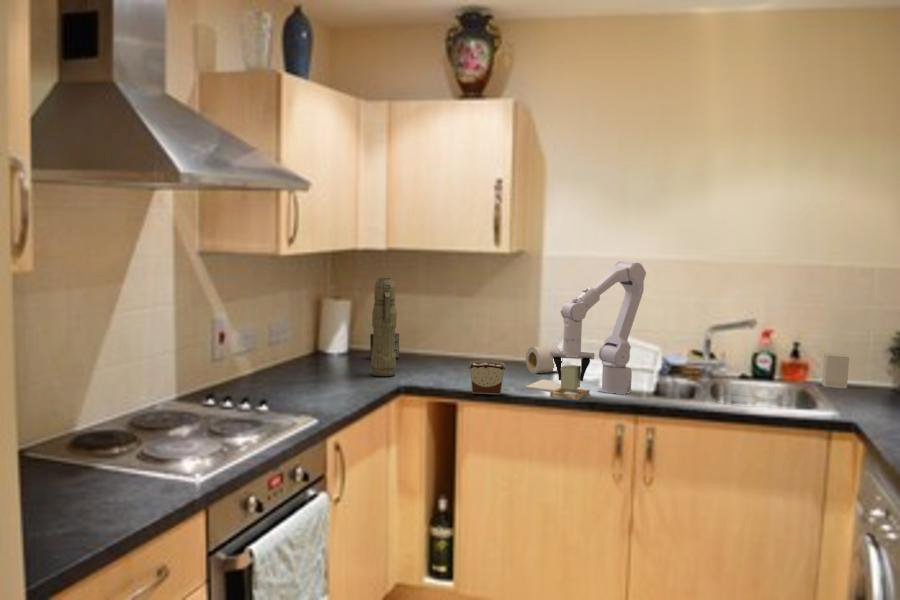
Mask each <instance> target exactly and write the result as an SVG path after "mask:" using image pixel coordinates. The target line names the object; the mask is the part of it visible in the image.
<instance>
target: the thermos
mask: <svg viewBox="0 0 900 600" xmlns="http://www.w3.org/2000/svg"><path fill="white" fill-rule="evenodd" d="M373 292H374V295H373V297H374V299H373V300H374V303H373V305H374V307H373V309H372V314H371V317H372V318H371V324H372V325H371V326H372V328H373V333H372V334H373V353H372V356H371V359H370V361H371V363H370V367H371V375H372V376H375V377H392V376H395V375H396V365H397V363H396V361H397V359H396V356H395V353H394V349H395V333H396V328H397V314H398V313H397V309H396V303H395V301H396V284H395V280H394V279H392V278H391V277H379V278H377V279H376V280H375V285H374V291H373Z"/></svg>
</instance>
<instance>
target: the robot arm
mask: <svg viewBox="0 0 900 600" xmlns="http://www.w3.org/2000/svg"><path fill="white" fill-rule="evenodd" d="M646 275H647V272H646V270H645V268H644V266H643V264H641V263H640V262H627V261H617V262H616V263H615V264H614V265H613V266H611V267H610V270H609V271H608V272H607V273H606V274H605V275H604V276H603V277H602V278H601V279H600V280H599V281H598V282H597V283H596V284H595V285H594V286H593V287H589V286H588V287H586V288H585V287H584V288H583V289H582V292H580V294H578V295H577V296H576V297H573V298H572V301H569V302H566V303H564V305H563V306H562V309H561V310H560V314H561V317H562V319H563V346H562V350H560V351H549V358H553V359H554V362H555V364H556V367H557V371H558V372H557V376H558V381H561V368H562V367H561V363H562V364H563V360H562V361H561V358H562V359H580V366H581V375H580V382H584V377H585V374H586V371H587V369H588V367H589V365H590V363H591V360H593V361H594V360H595V354H596V353H594V352H588V351H587V352H586V351H581V350H582V330H583V328H582V327H583V320H584V319H585V318H586V315H587V313H588V311H589V310H590V309H591V308H593V307H594V306H595V305H596V304H597V303H598V302H599V301H600V299H601V298H600V297H601V295H602V294H604V293H605V292H607V291H608V290H609V289H611V288H612V287H613V286H614V285H615V284H617V283H619V284H620V285H622V287H623V289H624V291H625V292H624V296H623V300H622V302H621V305H620V308H619V310H618V311H619V312H618V315H617V318H616V320H615V324H614V327H613V329H612V332H611V335H610V336H608V337H607V338H605V340H604V342H603V343H602V346H600V348H599V351H598V358H599V360H600V361H601V365H602V373H601V375H602V376H601V377H602V378H601V388H599V389H598V390H597V392H598V393H604V394H613V393H616V395H621V394H623V395H622V396H625V394H626V395H627V393H628V392H629V393H631V392H632V378H633V377H632V376H633V375H632V374H633V371H632V368H631V367H629V366H627V365H628V363H629V361H630V359H631V355H630V353H631V349H632V347H631V345H630V342H629V341H628V339H629V336H630V334H631V330H632V327H633V323H634V322H635V319H636V314H637V312H638V309H639V306H640V303H641V301H642V297H643V294H644V287H645V284H644V282H645V278H646ZM630 391H631V392H630ZM629 393H628V394H629Z"/></svg>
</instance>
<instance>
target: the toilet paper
mask: <svg viewBox="0 0 900 600" xmlns="http://www.w3.org/2000/svg"><path fill="white" fill-rule="evenodd" d="M549 351H561V349H560V348H559V347H558V346H557V345H551V346H534V347H533V346H530V347H529V348H528V349H527V351H526V354H525V355H526V356H525V364H526V368H527V370H528V372H530V373H532V374H545V373H548V374H549V373H554V372H553V368H554V363H553V358H549Z"/></svg>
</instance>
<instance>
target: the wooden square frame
mask: <svg viewBox="0 0 900 600" xmlns="http://www.w3.org/2000/svg"><path fill="white" fill-rule="evenodd" d="M549 393H550V397H552V398H558V399H567V400H571V401H572V400H573V401H580V400H581V399H583V398H584V397H586V396H588V395H590V389H585V388H577V389H575V390H570V389H562V388H561V387H560V388H558V389H556V390H554V391H552V392H549ZM572 393H573V394H572Z"/></svg>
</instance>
